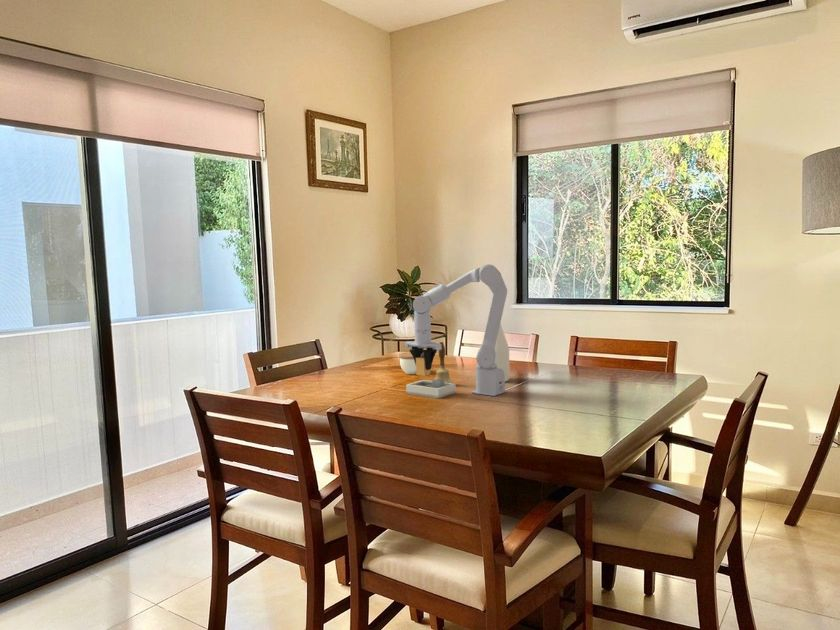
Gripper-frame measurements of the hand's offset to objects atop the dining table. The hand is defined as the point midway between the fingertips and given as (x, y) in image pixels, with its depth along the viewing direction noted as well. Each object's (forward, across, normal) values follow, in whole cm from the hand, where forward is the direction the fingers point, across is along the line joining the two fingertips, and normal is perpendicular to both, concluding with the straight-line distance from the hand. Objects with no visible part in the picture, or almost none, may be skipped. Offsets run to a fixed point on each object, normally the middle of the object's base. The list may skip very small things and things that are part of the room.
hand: (423, 368), depth 213 cm
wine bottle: (+8, +11, +31) cm, 34 cm away
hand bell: (+9, -2, +14) cm, 17 cm away
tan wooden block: (+2, 0, 0) cm, 2 cm away
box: (+8, +3, 0) cm, 9 cm away
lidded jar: (+9, -27, +27) cm, 39 cm away
